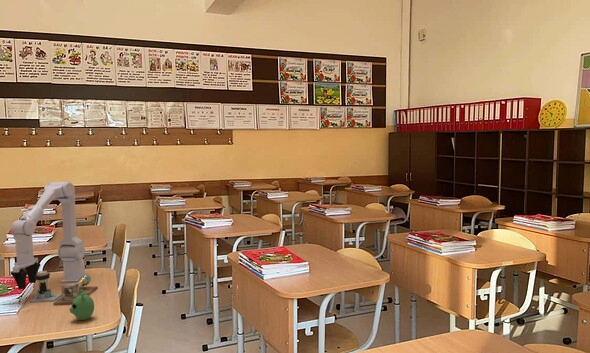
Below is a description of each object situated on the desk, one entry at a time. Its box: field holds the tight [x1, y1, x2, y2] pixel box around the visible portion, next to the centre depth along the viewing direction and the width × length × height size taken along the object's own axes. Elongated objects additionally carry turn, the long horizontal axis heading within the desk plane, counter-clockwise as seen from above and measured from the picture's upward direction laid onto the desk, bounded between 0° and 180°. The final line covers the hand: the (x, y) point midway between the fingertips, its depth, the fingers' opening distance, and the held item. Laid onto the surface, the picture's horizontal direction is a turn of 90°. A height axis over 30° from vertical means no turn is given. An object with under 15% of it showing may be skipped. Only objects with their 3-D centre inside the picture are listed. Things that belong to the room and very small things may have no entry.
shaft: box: [67, 274, 92, 294], centre depth 191 cm, size 15×4×4 cm, turn 1°
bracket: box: [52, 283, 99, 306], centre depth 189 cm, size 19×9×6 cm, turn 1°
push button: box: [34, 270, 56, 299], centre depth 187 cm, size 7×5×10 cm
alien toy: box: [69, 290, 95, 321], centre depth 164 cm, size 7×8×10 cm
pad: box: [29, 293, 62, 303], centre depth 188 cm, size 7×9×1 cm
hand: (27, 285), depth 187 cm, fingers open, 7 cm apart
